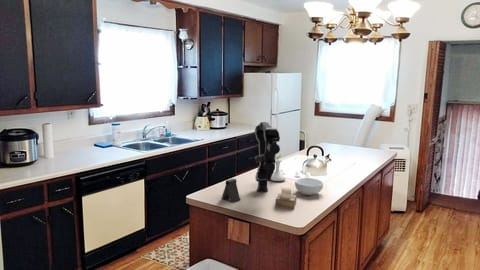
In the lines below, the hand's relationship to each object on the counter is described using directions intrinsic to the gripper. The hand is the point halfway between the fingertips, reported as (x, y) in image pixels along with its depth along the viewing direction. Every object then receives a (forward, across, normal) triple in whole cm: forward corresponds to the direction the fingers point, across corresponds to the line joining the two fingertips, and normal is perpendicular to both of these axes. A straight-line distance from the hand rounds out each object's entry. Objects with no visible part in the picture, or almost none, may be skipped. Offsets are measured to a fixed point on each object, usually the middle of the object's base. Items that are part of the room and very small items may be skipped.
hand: (269, 177), depth 212 cm
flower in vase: (+13, -40, +4) cm, 42 cm away
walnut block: (+13, +8, +10) cm, 18 cm away
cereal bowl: (+13, -16, +24) cm, 32 cm away
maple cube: (+8, +8, +10) cm, 15 cm away
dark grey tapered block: (+13, +5, -21) cm, 25 cm away
